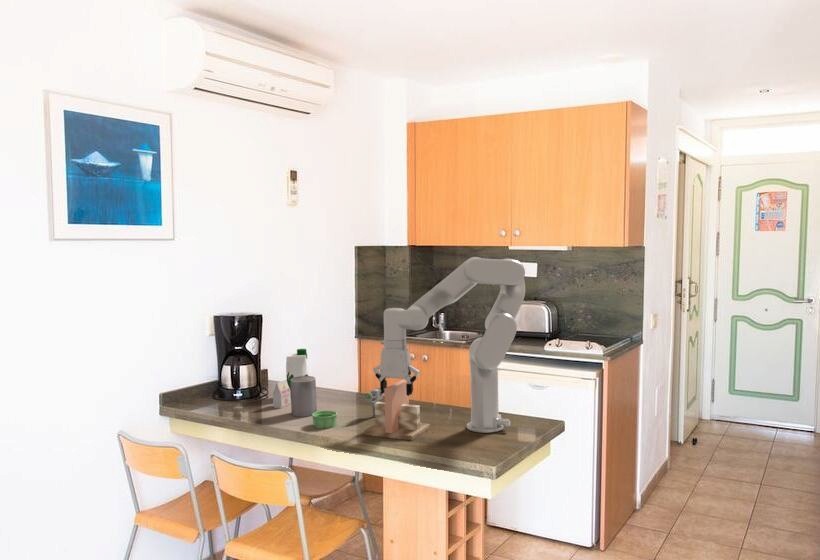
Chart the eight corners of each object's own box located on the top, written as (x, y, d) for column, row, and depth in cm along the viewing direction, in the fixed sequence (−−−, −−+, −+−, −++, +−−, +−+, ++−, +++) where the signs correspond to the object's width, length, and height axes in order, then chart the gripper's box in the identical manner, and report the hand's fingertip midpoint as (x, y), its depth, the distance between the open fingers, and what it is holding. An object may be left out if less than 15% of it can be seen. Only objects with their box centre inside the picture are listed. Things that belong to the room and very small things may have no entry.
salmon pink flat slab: (392, 433, 232) (391, 389, 231) (385, 432, 233) (384, 388, 232) (409, 422, 245) (408, 380, 244) (402, 421, 246) (401, 379, 245)
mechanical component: (364, 419, 255) (363, 393, 254) (378, 413, 264) (377, 387, 263) (371, 420, 254) (370, 393, 253) (385, 413, 263) (384, 387, 262)
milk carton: (308, 398, 290) (306, 351, 289) (286, 399, 289) (284, 351, 288) (309, 393, 299) (308, 347, 297) (288, 394, 298) (286, 348, 297)
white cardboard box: (273, 407, 276) (272, 383, 275) (283, 403, 282) (282, 379, 281) (281, 408, 275) (280, 383, 274) (290, 404, 281) (289, 380, 280)
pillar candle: (298, 409, 272) (296, 372, 271) (321, 410, 269) (319, 372, 268) (287, 416, 263) (285, 377, 261) (310, 417, 260) (309, 378, 259)
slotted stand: (430, 428, 242) (429, 401, 242) (412, 440, 229) (411, 412, 228) (384, 423, 250) (383, 397, 249) (364, 434, 236) (363, 407, 236)
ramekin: (333, 429, 244) (333, 417, 244) (309, 428, 246) (308, 416, 245) (340, 422, 253) (340, 410, 253) (316, 421, 254) (316, 410, 254)
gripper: (367, 344, 237) (369, 394, 239) (413, 347, 230) (415, 398, 231) (377, 341, 244) (379, 389, 245) (422, 343, 237) (424, 393, 238)
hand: (396, 393), depth 238 cm, fingers open, 9 cm apart
